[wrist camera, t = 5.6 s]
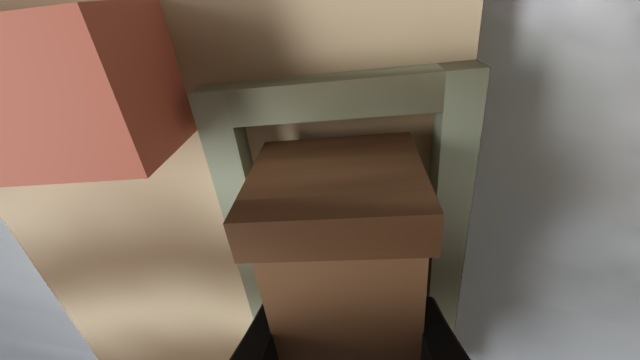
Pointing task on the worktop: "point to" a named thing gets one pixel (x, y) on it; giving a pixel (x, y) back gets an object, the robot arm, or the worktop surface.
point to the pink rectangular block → (88, 93)
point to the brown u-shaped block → (340, 245)
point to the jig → (240, 154)
